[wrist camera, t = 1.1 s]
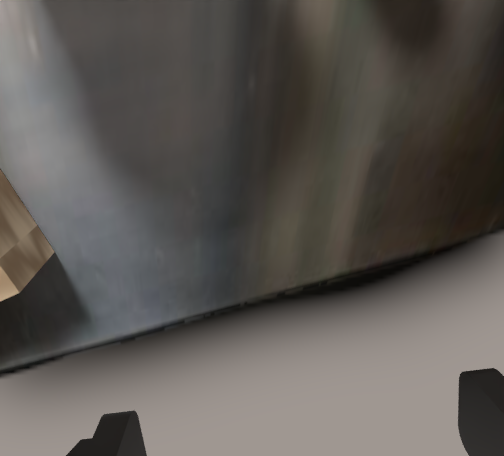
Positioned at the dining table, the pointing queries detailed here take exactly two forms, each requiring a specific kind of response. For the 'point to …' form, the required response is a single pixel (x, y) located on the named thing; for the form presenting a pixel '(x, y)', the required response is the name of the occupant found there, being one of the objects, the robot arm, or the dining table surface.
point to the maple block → (18, 243)
